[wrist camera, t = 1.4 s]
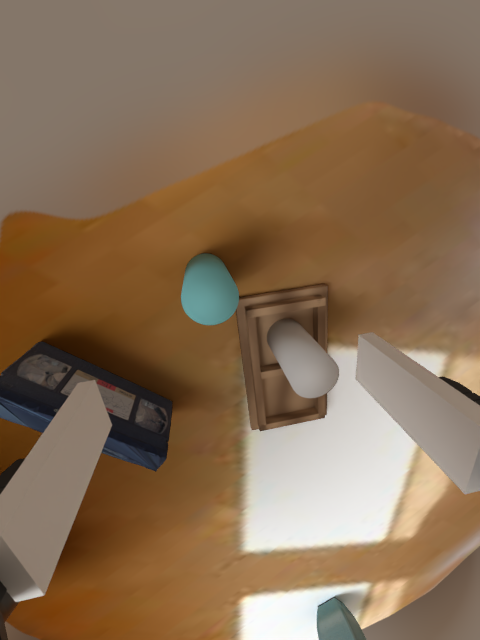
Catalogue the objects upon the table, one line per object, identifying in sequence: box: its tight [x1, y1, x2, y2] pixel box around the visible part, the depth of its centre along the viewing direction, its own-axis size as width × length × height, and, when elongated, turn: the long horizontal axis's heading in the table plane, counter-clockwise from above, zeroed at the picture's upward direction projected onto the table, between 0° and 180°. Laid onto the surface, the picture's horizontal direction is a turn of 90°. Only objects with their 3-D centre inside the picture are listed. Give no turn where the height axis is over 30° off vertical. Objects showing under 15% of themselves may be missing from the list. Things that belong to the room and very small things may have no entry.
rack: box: [236, 284, 328, 431], centre depth 38 cm, size 12×21×2 cm, turn 7°
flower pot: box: [317, 598, 366, 640], centre depth 63 cm, size 9×9×9 cm
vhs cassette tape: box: [0, 342, 172, 471], centre depth 31 cm, size 18×3×10 cm, turn 52°
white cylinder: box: [267, 318, 339, 398], centre depth 32 cm, size 5×5×10 cm
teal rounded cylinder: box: [181, 253, 239, 325], centre depth 28 cm, size 5×5×10 cm
